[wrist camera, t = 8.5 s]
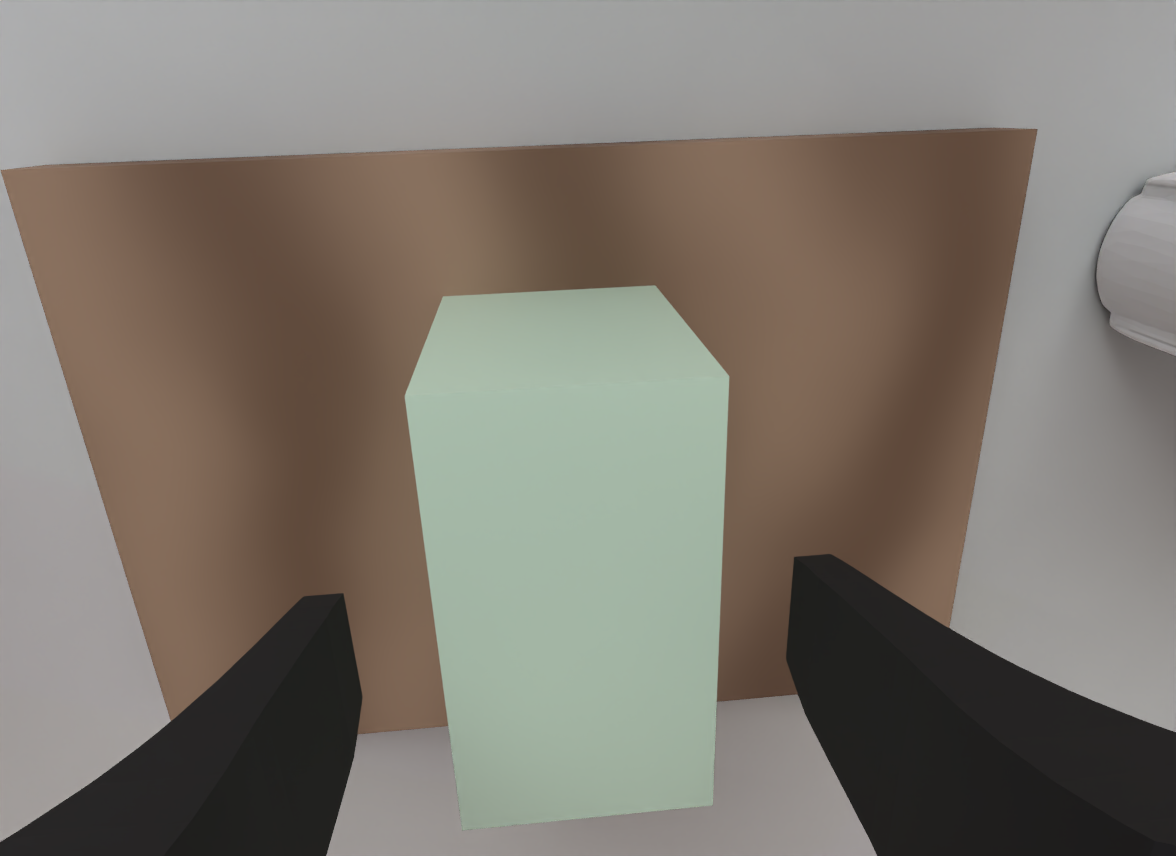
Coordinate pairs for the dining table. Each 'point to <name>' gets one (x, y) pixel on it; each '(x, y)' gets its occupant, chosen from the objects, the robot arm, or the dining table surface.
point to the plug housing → (573, 549)
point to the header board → (510, 265)
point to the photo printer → (1142, 266)
